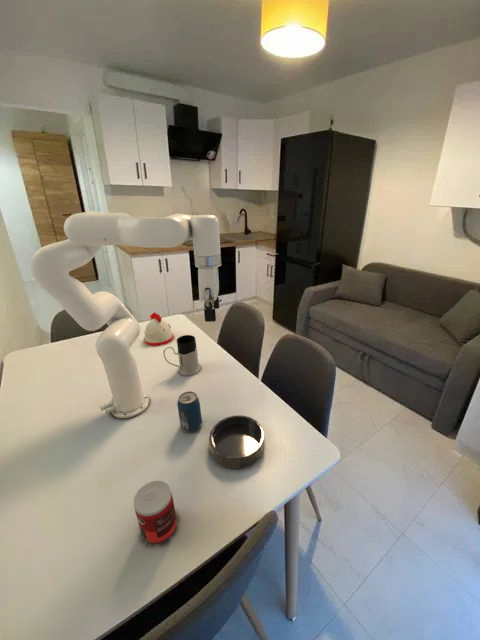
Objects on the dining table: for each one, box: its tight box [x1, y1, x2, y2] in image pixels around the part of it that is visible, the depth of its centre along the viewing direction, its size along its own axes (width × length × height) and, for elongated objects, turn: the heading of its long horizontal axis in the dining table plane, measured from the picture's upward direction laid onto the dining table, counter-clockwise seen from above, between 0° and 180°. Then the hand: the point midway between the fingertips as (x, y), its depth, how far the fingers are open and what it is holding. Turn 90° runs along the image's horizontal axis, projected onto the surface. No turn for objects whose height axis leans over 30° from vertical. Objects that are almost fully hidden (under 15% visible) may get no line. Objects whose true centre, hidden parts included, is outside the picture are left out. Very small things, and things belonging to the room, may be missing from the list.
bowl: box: [208, 414, 265, 469], centre depth 88 cm, size 16×16×4 cm
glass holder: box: [162, 334, 201, 376], centre depth 122 cm, size 9×14×15 cm, turn 125°
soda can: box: [176, 391, 203, 433], centre depth 94 cm, size 7×7×12 cm
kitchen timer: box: [143, 312, 174, 347], centre depth 148 cm, size 14×14×15 cm
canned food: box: [133, 480, 178, 544], centre depth 66 cm, size 8×8×11 cm
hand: (212, 314), depth 90 cm, fingers open, 9 cm apart
